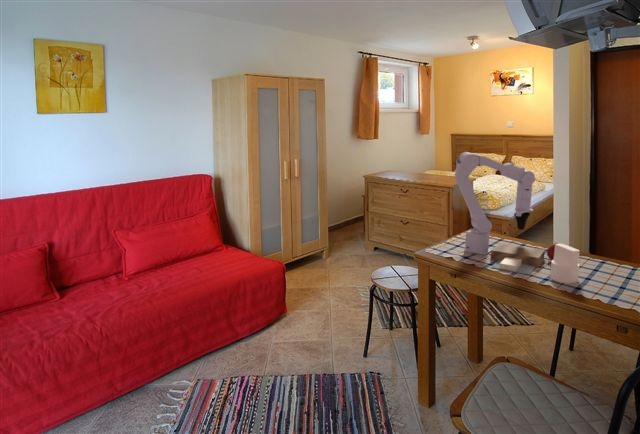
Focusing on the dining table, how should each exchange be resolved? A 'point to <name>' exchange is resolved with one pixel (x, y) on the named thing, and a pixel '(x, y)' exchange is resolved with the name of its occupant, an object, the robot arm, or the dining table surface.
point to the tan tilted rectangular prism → (510, 263)
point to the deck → (518, 254)
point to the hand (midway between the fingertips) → (520, 229)
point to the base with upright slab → (565, 264)
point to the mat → (522, 269)
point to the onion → (551, 251)
